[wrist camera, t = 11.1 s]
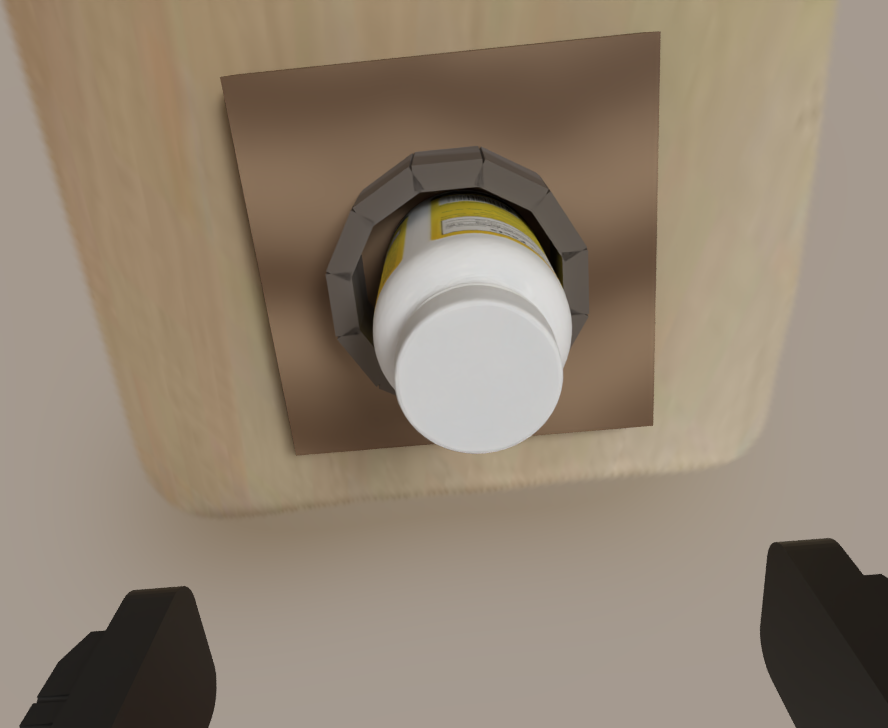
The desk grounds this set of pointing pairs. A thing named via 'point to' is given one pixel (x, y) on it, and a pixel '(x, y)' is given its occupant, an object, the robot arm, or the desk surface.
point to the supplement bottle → (471, 323)
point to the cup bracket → (441, 170)
